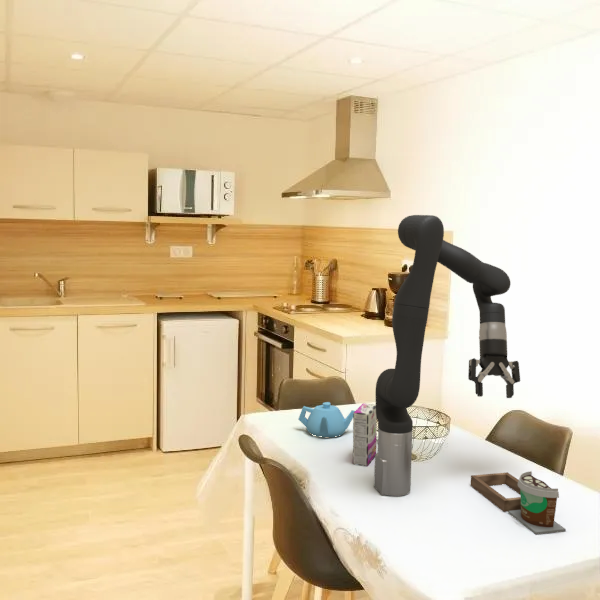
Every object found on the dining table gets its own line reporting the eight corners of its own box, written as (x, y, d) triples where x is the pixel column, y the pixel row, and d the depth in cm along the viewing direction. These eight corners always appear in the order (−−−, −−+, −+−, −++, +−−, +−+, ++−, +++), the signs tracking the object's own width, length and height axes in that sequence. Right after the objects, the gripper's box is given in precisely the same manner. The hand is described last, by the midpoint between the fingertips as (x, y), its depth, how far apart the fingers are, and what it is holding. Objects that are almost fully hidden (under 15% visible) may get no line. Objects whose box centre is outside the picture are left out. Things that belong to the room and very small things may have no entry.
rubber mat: (535, 534, 155) (536, 532, 155) (508, 513, 166) (508, 510, 166) (565, 531, 157) (565, 529, 157) (536, 510, 168) (536, 508, 168)
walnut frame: (503, 512, 167) (504, 500, 167) (470, 485, 184) (470, 475, 183) (543, 508, 170) (544, 496, 169) (506, 482, 186) (507, 472, 186)
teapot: (329, 423, 240) (329, 395, 239) (357, 434, 228) (357, 404, 227) (296, 431, 231) (296, 401, 230) (323, 442, 219) (323, 411, 218)
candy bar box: (361, 452, 209) (362, 402, 207) (376, 455, 208) (377, 404, 206) (351, 464, 199) (352, 411, 197) (367, 466, 197) (369, 413, 195)
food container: (506, 510, 167) (508, 472, 165) (528, 508, 168) (530, 470, 167) (533, 532, 155) (536, 491, 154) (557, 529, 156) (559, 489, 155)
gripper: (474, 336, 182) (475, 395, 178) (522, 339, 184) (525, 397, 180) (464, 340, 189) (465, 397, 186) (510, 343, 191) (513, 399, 187)
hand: (494, 397), depth 183 cm, fingers open, 8 cm apart
